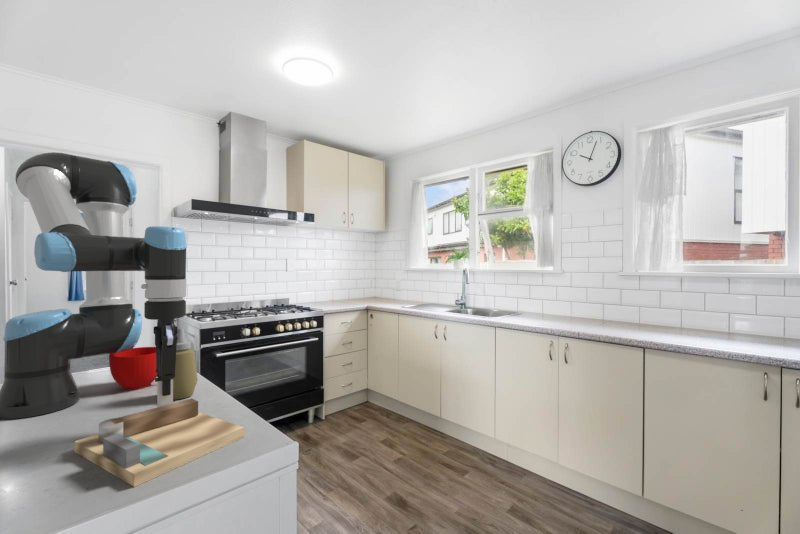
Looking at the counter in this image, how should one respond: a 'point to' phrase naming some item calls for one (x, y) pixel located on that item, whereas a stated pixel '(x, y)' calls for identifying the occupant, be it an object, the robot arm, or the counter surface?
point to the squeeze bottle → (184, 368)
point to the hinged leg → (148, 419)
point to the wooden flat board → (158, 447)
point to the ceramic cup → (134, 367)
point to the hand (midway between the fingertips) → (165, 409)
